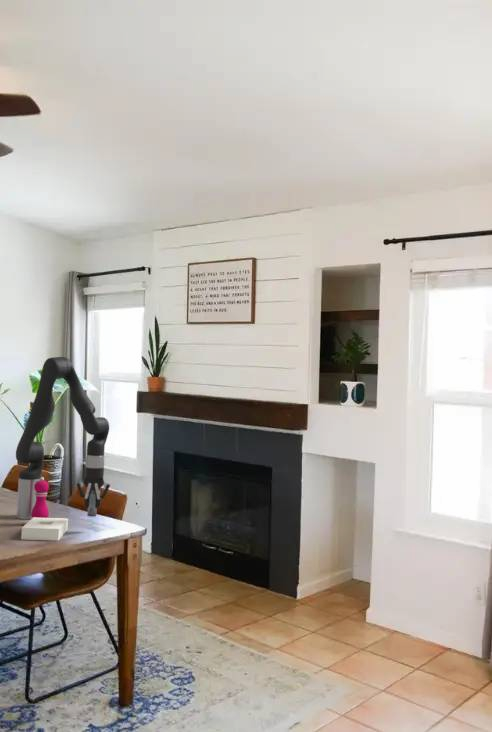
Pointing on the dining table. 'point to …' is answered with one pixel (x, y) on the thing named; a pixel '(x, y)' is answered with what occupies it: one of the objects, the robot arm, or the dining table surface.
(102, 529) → the dining table surface
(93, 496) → the peg
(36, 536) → the hole block
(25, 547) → the dining table surface
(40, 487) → the pepper mill
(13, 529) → the dining table surface
